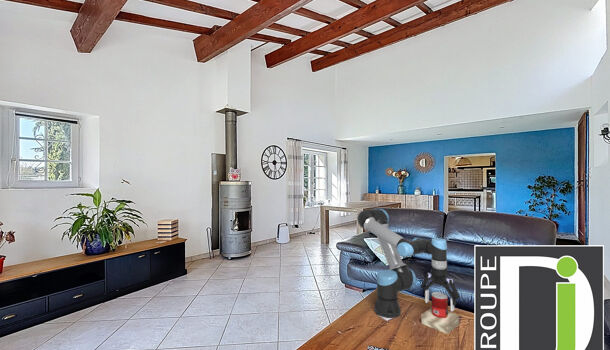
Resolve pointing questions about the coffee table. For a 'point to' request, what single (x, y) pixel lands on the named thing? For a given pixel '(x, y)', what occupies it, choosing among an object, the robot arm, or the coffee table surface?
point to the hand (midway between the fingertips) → (439, 306)
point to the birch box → (440, 321)
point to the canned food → (439, 304)
